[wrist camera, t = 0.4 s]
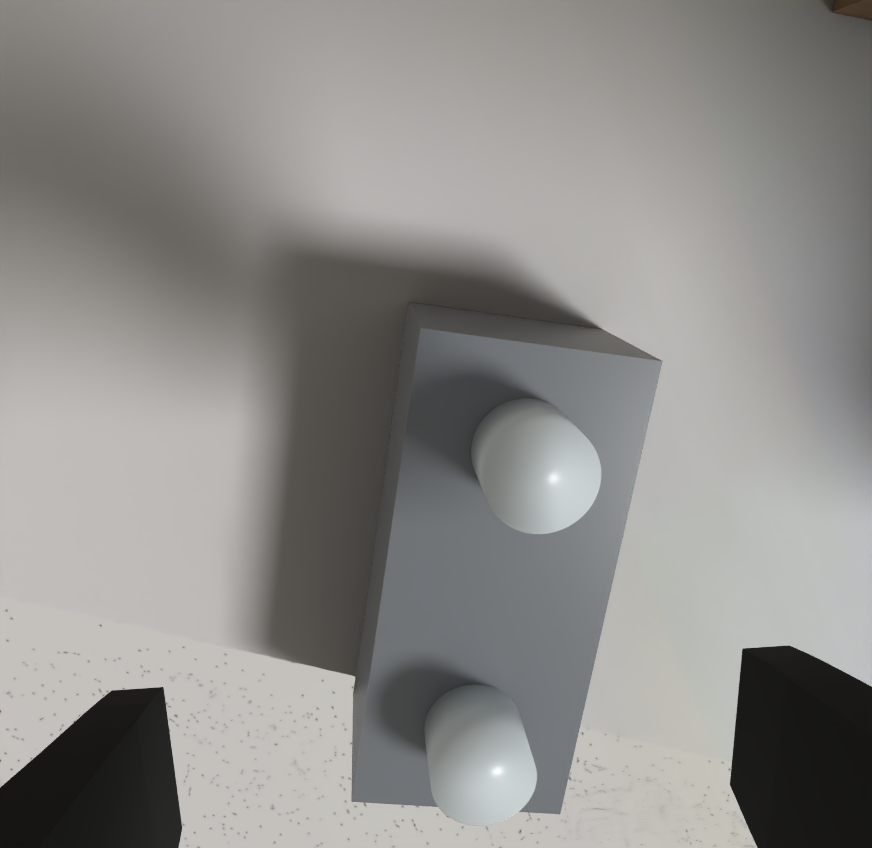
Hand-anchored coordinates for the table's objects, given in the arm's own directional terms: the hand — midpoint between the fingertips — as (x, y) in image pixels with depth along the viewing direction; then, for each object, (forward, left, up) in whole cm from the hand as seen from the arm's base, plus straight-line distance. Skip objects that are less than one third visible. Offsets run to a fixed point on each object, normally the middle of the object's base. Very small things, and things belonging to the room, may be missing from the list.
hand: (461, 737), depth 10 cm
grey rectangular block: (-1, +1, -10) cm, 10 cm away
